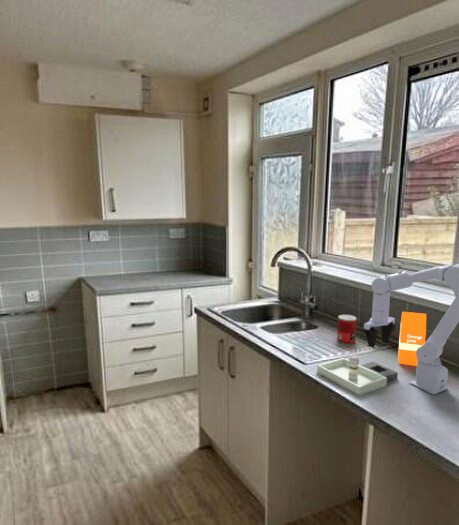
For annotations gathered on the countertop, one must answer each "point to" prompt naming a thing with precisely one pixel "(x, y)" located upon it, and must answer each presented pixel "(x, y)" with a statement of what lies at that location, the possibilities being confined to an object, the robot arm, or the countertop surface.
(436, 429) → the countertop surface
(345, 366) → the parts tray
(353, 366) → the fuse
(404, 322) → the orange juice
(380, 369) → the fuse holder
